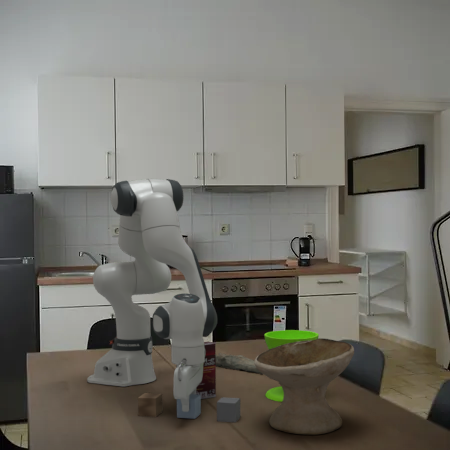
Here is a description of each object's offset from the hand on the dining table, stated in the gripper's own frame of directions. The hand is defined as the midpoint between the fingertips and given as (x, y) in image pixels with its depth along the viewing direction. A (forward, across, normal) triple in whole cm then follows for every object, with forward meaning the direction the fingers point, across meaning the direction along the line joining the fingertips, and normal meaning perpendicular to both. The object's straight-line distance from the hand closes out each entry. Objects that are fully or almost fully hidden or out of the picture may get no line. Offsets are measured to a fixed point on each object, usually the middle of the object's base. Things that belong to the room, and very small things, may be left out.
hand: (188, 407), depth 178 cm
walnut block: (+2, +1, +11) cm, 11 cm away
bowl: (+2, -4, -31) cm, 31 cm away
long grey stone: (+3, +59, -7) cm, 59 cm away
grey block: (+2, -1, -11) cm, 11 cm away
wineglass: (+3, +24, -26) cm, 36 cm away
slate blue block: (+2, 0, 0) cm, 2 cm away
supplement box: (+3, +19, +1) cm, 19 cm away
